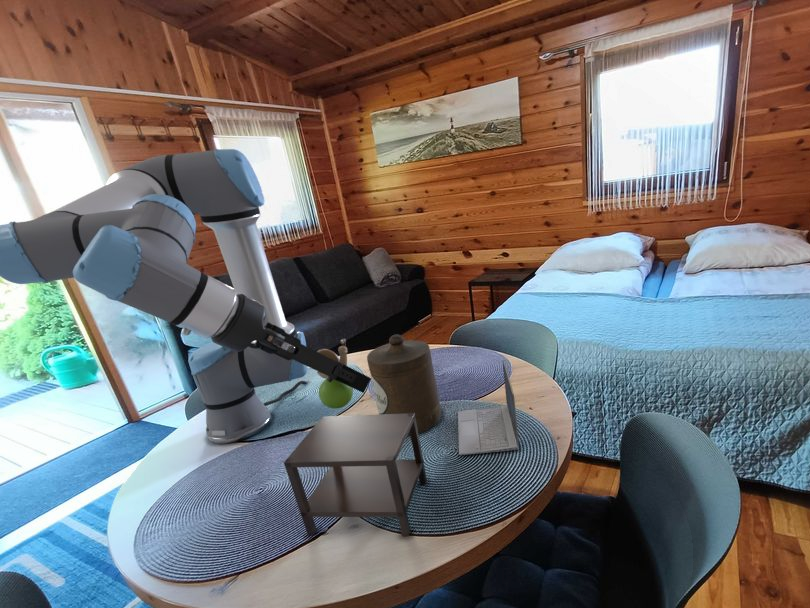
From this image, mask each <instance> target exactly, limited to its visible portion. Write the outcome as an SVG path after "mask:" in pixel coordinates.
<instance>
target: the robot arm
mask: <svg viewBox="0 0 810 608" xmlns="http://www.w3.org/2000/svg"><path fill="white" fill-rule="evenodd" d="M264 205H265V196H264V193H263V190H262V185H261V183H260V181H259V178H258V176H257V174H256V171H255V170H254V168H253V166H252V164H251V163H250V161H249V160H248V158H247V157H246V156H245V154H244V153H243V152H241V151H240V150H238V149H236V148H235V149H234V148H223V149H222V148H221V149H219V148H215V149H211V150H202V151H201V150H200V151H193V152H182V153H175V154H174V153H173V154H163V155H157V156H154V157H149V158H147V159H144V160H142V161H139V162H136V163H134V164H132V165H130V166H127V167H125V168H123V169H121V170H118V171H116V172H114V173H113V174H112V175H110V177H109V178H108V179H107V181H106V184H105V185H104V186H101V187H99V188H97V189H95V190H94V191H92V192H89V193H87V194H85V195H83V196H81V197H79V198H77V199H75V200H72V201H71V202H69V203H67V204H65V205H62V206H60V207H58V208H56V209H54V210H52V211H51V212H48V213H45V214H43V215H41V216H38V217H36V218H34V219H31V220H25V221H10V222H8V223H5V224H0V278H2V279H3V280H6V281H7V282H10V283H13V284H16V285H27V284H29V285H30V284H37V283H43V284H49V283H51V282H55V281H63V280H68V279H75V281H76V282H78V283H79V284H80V285H83V286H85V287H87V288H89V289H91V290H93V291H95V292H97V293H100V294H101V295H103V296H105V297H106V298H107V299H108V300H111V301H115V302H119V303H122V304H124V305H127V306H129V307H130V308H131V307H132V308H133V309H136V310H139V311H141V312H143V313H146V314H148V315H150V316H153V317H155V318H157V319H160V320H162V321H165V322H167V323H169V324H171V325H173V326H176V327H178V328H179V329H180V328H182V329H181V332H180V333H181V334H182V335H183V336H189V335H190V334H191V332H192V333H193V334H194V335H196V336H198V337H201V338H203V339H210V340H211V341H212V342H209V343H207V344H204V345H203V346H200V347H199V348H197V349H195V350H194V351H193V352H191V353H190V354H189V357H188V360H187V362H188V365H189V368H190V374H191V376H192V377H193V380H194V383H195V385H196V387H197V390H198V392H199V395H200V398H201V400H202V403H203V405H204V408H205V410H206V411H205V412H206V415H205V417H206V418H205V422H206V426H205V432H206V436H207V439H208V441H210V443H212V444H218V445H219V444H220V445H223V444H232V443H236V442H239V441H240V442H241V441H243V440H246V439H248V438H250V437H253V436H255V435H257V434H258V433H260V432H262V431H263V430H264V429H266V428H267V427H268V426H269V425H270V424H271V422H272V420H273V417H272V414H271V411H270V410H269V408H268V406H269V405H273V404H275V403H279V402H280V401H281V400H282V399H283V398H284V397H285V396H287V395H289V394H291V393H293V392H294V391H295V390H297V388H298V387H300V386H301V385H306V384H308V381H305V380H299V381H297V383H295V384H294V385H293V386H292V387H291V388H289V389H287V390H285V391H284V392H282V393H281V394H280V395H279V396H278V397H276V398H274V399H271V400H268V401H266V402H263V401H262V400H261V398H260V397H259V396H258V395H257V393H256V390H255V388H259V387H264V386H270V385H275V384H279V383H285V382H291V381H293V380H296V379H301V378H303V377H305V376H306V375H307V372H308V368H310V369H312V370H314V371H316V372H318V371H319V372H321V373H323V374H325V375H327V376H328V379H327V381H329V382H332V380H333V379H335V380H337V381H339V382H341V383H343V384H345V385H347V386H350V387H352V388H353V390H356V391H358V392H360V393H362V394H364V393H365V391H366V390H367V388H368V386H369V384H370V382H371V381H372V379H371V376H370V377H369V376H368V375H366V374H364V373H362V372H359V371H358V370H355V369H354V368H352V367H349V366H348V365H347V366H346V365H344V364H342V363H341V362H339V361H334V360H332V359H330V358H328V357H326V356H324V355H322V354H320V353H318V351H319V350H322V349H321V348H319V347H316V349H315V350H314V349H312V348H310V347H308V346H307V342H306V338H305V334H304V332H303V331H297V330H296V327H295V325H294V324H293V323H291V322H290V321H288V320H286V317H285V313H284V311H283V307H282V304H281V301H280V297H279V293H278V291H277V287H276V284H275V281H274V278H273V274H272V272H271V268H270V265H269V261H268V257H267V255H266V252H265V249H264V245H263V241H262V238H261V235H260V232H259V229H258V226H257V221H258V220H259V218H260V216H261V215H262V213H261V210H260V208H261V207H262V206H264ZM194 215H199V218H200V220H201V222H202V225H204V226H206V227H208V228H210V229H211V230H212V231H213V233H214V235H215V239H216V241H217V244H218V247H219V250H220V252H221V255H222V259H223V261H224V264H225V266H226V269H227V272H228V275H229V278H230V281H231V283H232V286H233V287H232V286H229V285H228V284H226V283H224V282H222V281H221V280H218V279H216V278H215V277H213V276H210V275H209V274H208V273H204V272H202V271H201V270H198V269H197V268H195V267H193V266H191V265H189V264H188V261H189V258H190V255H191V251H192V248H193V246H194V244H195V241H196V237H195V236H196V230H197V223H196V219H195V216H194Z"/></svg>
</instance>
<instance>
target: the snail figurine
mask: <svg viewBox="0 0 810 608" xmlns="http://www.w3.org/2000/svg"><path fill="white" fill-rule="evenodd" d="M346 342H347V339H346V338H342V339H341V340H340V344H341V346H339V347H338V349H337V350H338V354H339V355H338V354H336V352H335V351H333V350H331V349H327V348H322V349H321V350H319V351H318V353H320V354H322V355H324V356H326V357H328V358H330V359H332V360H334V361H339V362H341V363H342V364H344V365H346V366H348V347H347V345H346ZM316 373H317V375H318V376H319V377H321V378H322V379H324V380H323V381H322V382H321V384H320V385H319V388H318V397H319V400H320V401H321V403H322V404H323V405H324V406H326V407H327V408H329V409H341V408H344V407H346V406H347V405H348V404H349V403H350V402H351V401H352V398H353V394H354V388H352V387H350V386H347V385H345V384H343V383H341V382H339V381H337V380H335V379H333V380H332V382H329V381H327V379H328V376H327V375H325V374H323V373H321V372H319V371H316Z"/></svg>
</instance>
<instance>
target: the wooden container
mask: <svg viewBox="0 0 810 608" xmlns="http://www.w3.org/2000/svg"><path fill="white" fill-rule="evenodd" d="M388 342H389V343H386V344H383V345H380V346H378V347H376V348H374V349H372V350H371V351H370V352H369V353H367V356H366V358H367V359H366V361H367V366H368V370H369V373H370V378H371V383H372V388H373V395H374V398H375V403H376V407H377V411H378V415H379V414H405V413H415V418H416V424H417V429H418V434H419V433H423V432H425V431H429V429H431V428H433V427H434V426H436V425H437V424H438V423H439V421H440V420H441V419H442V409H441V408H442V407H441V403H440V395H439V390H438V385H437V379H436V375H435V371H434V370H435V369H434V364H433V360H432V353H431V348H430V346H429V344H428V343H427V342H425V341H421V340H405V338H404V336H402V335H400V334H398V333H397V334H393V335H391V336H390V338H389V339H388ZM407 436H410V431H409V433H408V435H407Z"/></svg>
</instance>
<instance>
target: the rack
mask: <svg viewBox="0 0 810 608" xmlns="http://www.w3.org/2000/svg"><path fill="white" fill-rule="evenodd" d="M409 431H410V435H408V433H409ZM408 436H410V440H411V445H412V446H411V447H412V450H413V456H414V458H411V459H408V458H406V459H402V458H401V459H398V457H399V455H400V452H401V450H402V448H403V446H404V443H405V441H406V439H407V437H408ZM283 465H284V468H285V471H286V474H287V477H288V480H289V483H290V486H291V489H292V493H293V495H294V498H295V501H296V504H297V507H298V510H299V513H300V516H301V519H302V522H303V525H304V528H305V531H306V535H307V536H315V534H316V533H317V531H318V529H317V525H316V522H315V519H314V518H397V520H398V524H399V528H400V533H401V536H402V537H410V534H411V526H410V522H409V516H408V509H409V506H410V504H411V501H412V498H413V495H414V493H415V489H416V487H417V485H418V481H419V485H426V484H427V483H428V477H427V472H426V467H425V461H424V456H423V451H422V446H421V439H420V435H419V433H418V429H417V424H416V418H415V413H405V414H379V413H378V414H358V415H357V414H355V415H333V416H332V415H330V416H322V417H320V418H319V420H318V421H317V422H316V423H315V425H314V426H313V427H312V428H311V430H309V432H308V433H307V434H306V436H305V437H303V439H302V440H301V442H299V444H298V445H297V446H296V447H295V448H294V449H293V451H292V452H291V453H290V455H289V456H288V457H287V458H286V459H285V460H284V461H283ZM298 468H328V470H327V472H326V473H325V474H324V476H323V477H322V479H321V481H319V483H318V485H317V487H316V488H315V489H314V491H313V493H312V494H311V495H310V497H309V498H308V497H307V494H306V490H305V488H304V485H303V482H302V477H301V474H300V471H299V469H298Z"/></svg>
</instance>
